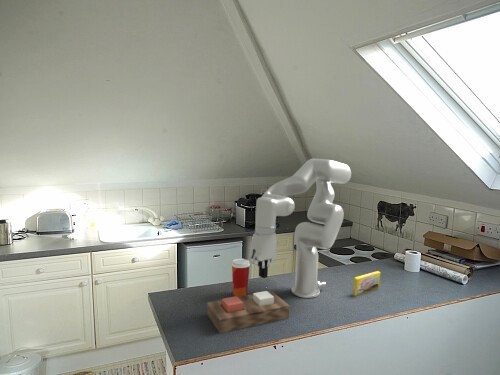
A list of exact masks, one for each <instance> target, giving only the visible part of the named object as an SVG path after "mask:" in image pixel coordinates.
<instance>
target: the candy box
mask: <svg viewBox="0 0 500 375" xmlns="http://www.w3.org/2000/svg"><path fill="white" fill-rule="evenodd" d="M381 274H382V273H381V272H380V271H379V270H377V271H373V272H369V273H366V274H362V275H358V276H355V277H354V278H353V279H354V280H353V287H352V289H353V290H352V296H354V297H358V296H360V295H363V294H367V293H370V292H372V291H376V290H378V289H380V280H381Z"/></svg>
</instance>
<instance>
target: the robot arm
mask: <svg viewBox="0 0 500 375" xmlns="http://www.w3.org/2000/svg"><path fill="white" fill-rule="evenodd" d="M351 177H352V171H351V168H350V167H349V165H348V164H346V163H342V162H339V161H336V160H332V159H328V158H327V159H325V158H310V159H308V160H306V162H304V164H303V165H302V166H301V167H299V169H298V170H296V172H295V173H294V174H293V175H292V176H290V177H288V178H286V179H283V180H281V181H278V182H276V183H274V184H272V185H271V186H270V187H269V188H268V189H267V190H266V191H265V192H264V193H263V194H262V195H261V197H258V198H257V199H256V203H255V204H256V207H255V226H254V227H255V230H254V233H253V235H252V238H251V244H250V250H249V251H250V253H249V258H250V259H252V261H251V263H252V264H253V265H257V267H258V277H260V278H262V279H265V278H268V274H269V273H268V270H269V269H268V268H269V267H270V264H271V263H272V262H273V261H275V258H276V257H277V251H278V249H277V248H278V247H277V246H278V245H277V244H278V243H277V242H278V241H277V233H276V229H277V226H276V222H277V217H287V216H289V215H291V214H292V213H294V211H295V207H296V206H295V205H296V204H295V201H294V200H293V199H292V198H290V197H289V196H295V195H299V194H303V193H306V192H308V191H309V189H311V187H312V186H313V185H314V184H316V191H315V193H314V196H313V198H312V201H311V203H310V205H309V208H308V210H307V213H306V214H307V215H306V216H307V219H308V220H309V221H311V222H309V221H304V222H303V221H302V222H300V223H299V224H297V225H296V227H295V230H294V238H295V243H296V244H295V246H296V258H295V277H294V281H295V282H294V283H295V284H294V285H293V286H292V287H291V293H292V294H293V295H295V296H296V297H300V298H305V299H313V298H316V297H319V295H321V294H320V293H321V290H320V288H321V287H325V286H327V285H326V281H322V282H321V281H320V280H318V267H319V253H318V252H319V251H318V249H323V250H329V249H331V248H332V246H333V245H334V244H335V241H336V239H337V237H338V234H339V231H340V229H341V226H342V225H343V224H342V223H343V221H344V215H345V214H344V209H343V207H342V206H341V205H339V204H336V203H333V201H334V199H335V195H336V194H335V191H334V188H333V186H332V184H333V183H334V184H341V185H345V184H347V183H349V181H350V180H351ZM321 224H322V225H321ZM317 248H318V249H317Z"/></svg>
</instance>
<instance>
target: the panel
mask: <svg viewBox="0 0 500 375" xmlns="http://www.w3.org/2000/svg"><path fill="white" fill-rule="evenodd" d="M268 292H269V293H270V294H271V295H272V296H273V297H274V304H270V305H265V306H260V307H259V306H258V305H257V304H256V303H255V302H254V301H253V293H252V294H247V295H246V296H241V297H238V298H239V299H240V300H241V301H242V302H243V310H240V311H235V312H230V313H227V312H226V311H225V310H224V308H223V307H222V299H220V300H215V301H209V302H207V305H206V309H207V310H206V315H207V317H208V318H209V320H210V321H211V322H212V325H214V327H215V329H216V330H217V331H218V332H219V334H223V333H228V332H231V331H235V330H242V329H246V328H249V327H254V326H259V325H262V324H266V323H272V322H276V321H281V320H286V319H289V318H290V305H289V304H288V303H287V302H286V301H284V300H283V299H282V298H281V297H280V296H278V294H276V293H275V292H274V291H273V290H269V291H268Z"/></svg>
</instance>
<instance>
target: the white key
mask: <svg viewBox="0 0 500 375" xmlns="http://www.w3.org/2000/svg"><path fill="white" fill-rule="evenodd" d="M252 294H253V301H254V302H255V303H256V304H257V305H258V306H259V307H260V306H265V305H270V304H274V297H273V296H272V295H271V294H270V293H269V291H267V290H263V291H259V292H258V291H257V292H254V293H252Z"/></svg>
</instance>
